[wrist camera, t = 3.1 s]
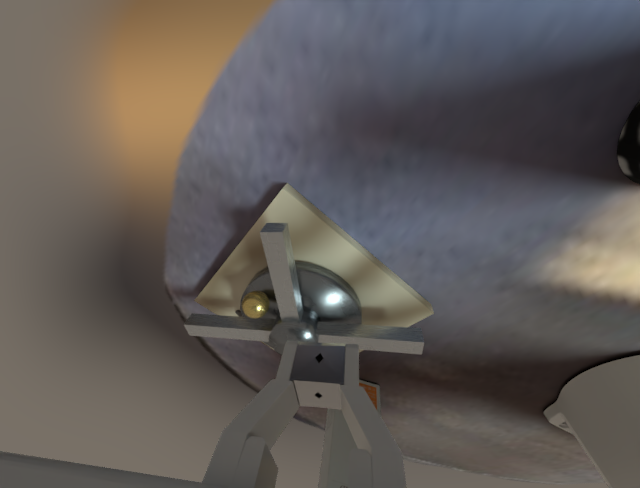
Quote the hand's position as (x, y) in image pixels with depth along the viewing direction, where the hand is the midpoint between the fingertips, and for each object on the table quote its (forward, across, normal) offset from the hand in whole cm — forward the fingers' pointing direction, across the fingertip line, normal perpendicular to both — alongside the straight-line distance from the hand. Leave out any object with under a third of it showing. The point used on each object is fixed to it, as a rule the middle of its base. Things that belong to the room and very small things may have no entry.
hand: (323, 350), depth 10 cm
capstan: (+11, +4, +9) cm, 15 cm away
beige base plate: (+12, +4, +9) cm, 16 cm away
